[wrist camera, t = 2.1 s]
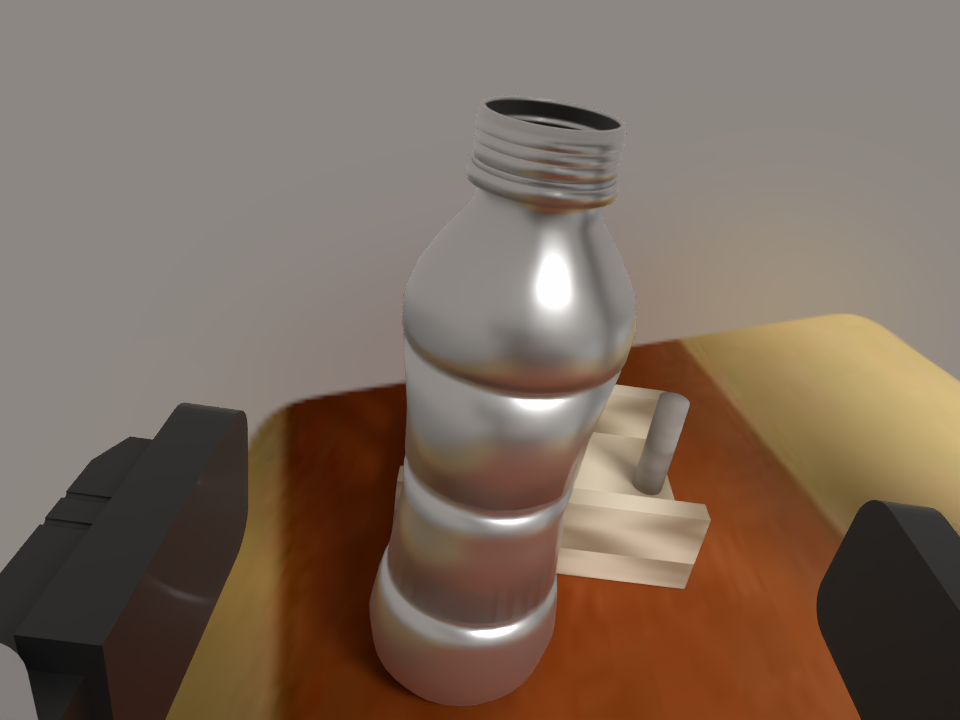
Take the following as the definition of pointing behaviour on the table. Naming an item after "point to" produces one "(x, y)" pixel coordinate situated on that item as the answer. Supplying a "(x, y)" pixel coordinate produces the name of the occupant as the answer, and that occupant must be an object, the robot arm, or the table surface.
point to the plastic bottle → (502, 399)
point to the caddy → (630, 496)
